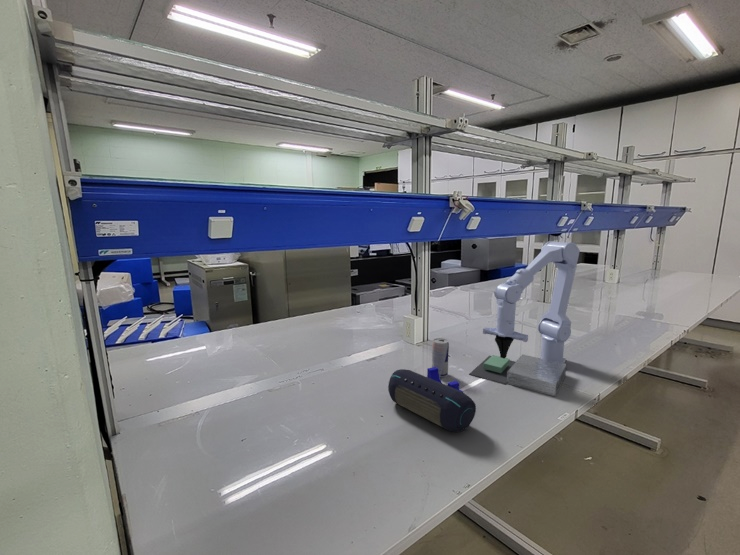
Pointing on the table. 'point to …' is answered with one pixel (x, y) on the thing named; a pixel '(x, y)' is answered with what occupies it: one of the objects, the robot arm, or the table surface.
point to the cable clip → (434, 375)
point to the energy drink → (440, 356)
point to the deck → (537, 374)
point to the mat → (491, 373)
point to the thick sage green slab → (496, 364)
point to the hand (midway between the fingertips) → (503, 357)
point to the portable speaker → (432, 400)
